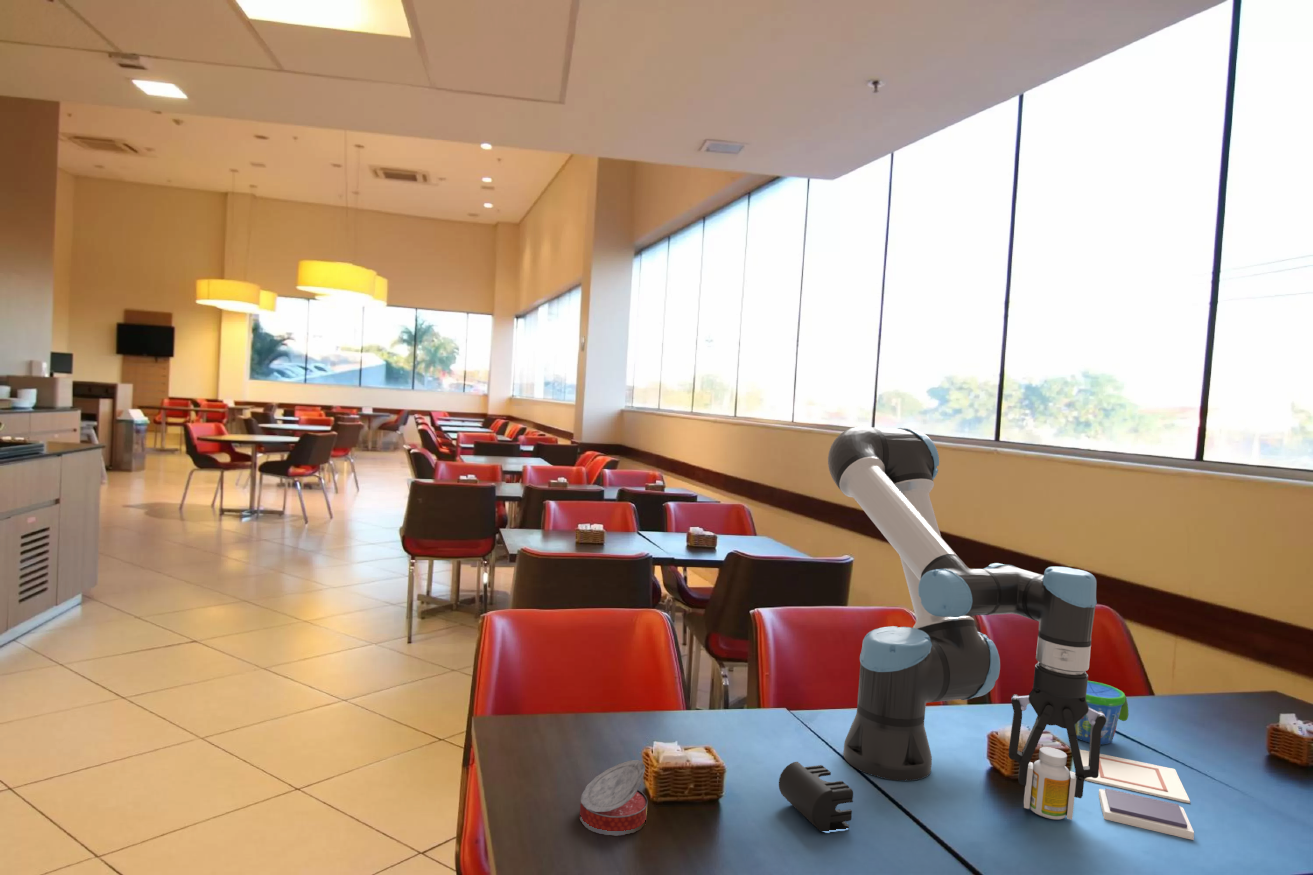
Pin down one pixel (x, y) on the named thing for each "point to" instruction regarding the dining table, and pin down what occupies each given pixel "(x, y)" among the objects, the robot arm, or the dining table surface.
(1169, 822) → the ink pad
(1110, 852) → the dining table surface
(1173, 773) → the cream flat board
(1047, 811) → the supplement bottle
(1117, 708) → the snack cup
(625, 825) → the canned food
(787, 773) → the end cap
